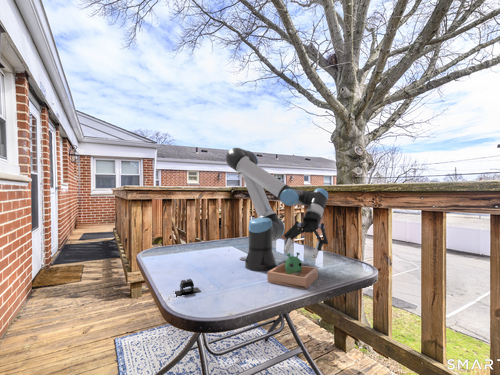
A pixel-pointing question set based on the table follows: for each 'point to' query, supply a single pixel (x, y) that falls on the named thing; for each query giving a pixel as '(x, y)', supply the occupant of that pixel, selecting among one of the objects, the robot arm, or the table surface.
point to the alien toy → (293, 265)
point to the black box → (187, 291)
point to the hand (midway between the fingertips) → (299, 254)
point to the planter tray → (293, 276)
